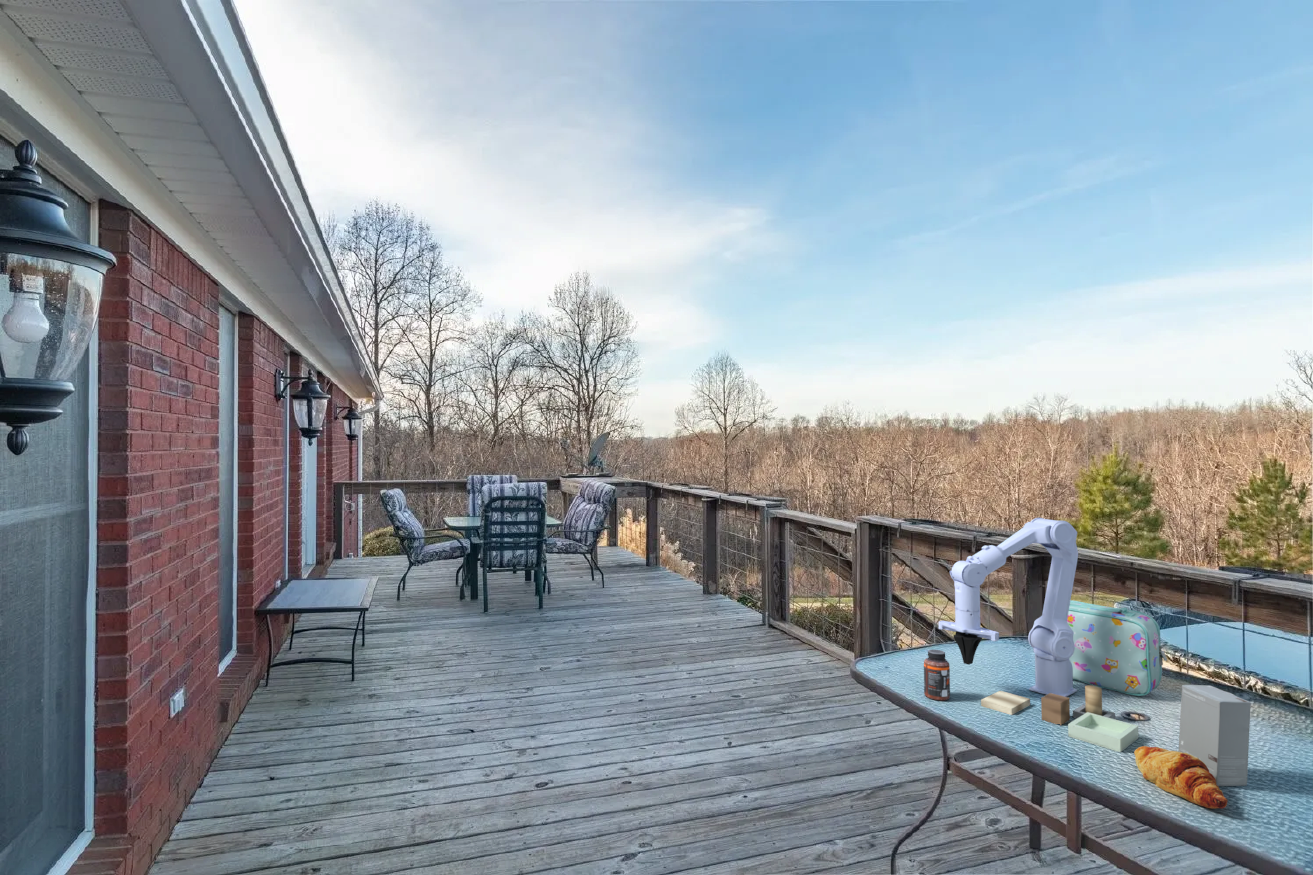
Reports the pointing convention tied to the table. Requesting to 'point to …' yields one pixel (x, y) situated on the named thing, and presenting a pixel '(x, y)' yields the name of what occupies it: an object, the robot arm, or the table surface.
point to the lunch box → (1115, 648)
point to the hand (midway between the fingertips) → (968, 663)
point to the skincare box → (1216, 732)
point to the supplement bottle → (936, 676)
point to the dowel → (1093, 699)
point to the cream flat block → (1005, 702)
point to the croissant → (1180, 775)
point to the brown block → (1055, 708)
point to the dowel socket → (1082, 711)
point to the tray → (1103, 731)
